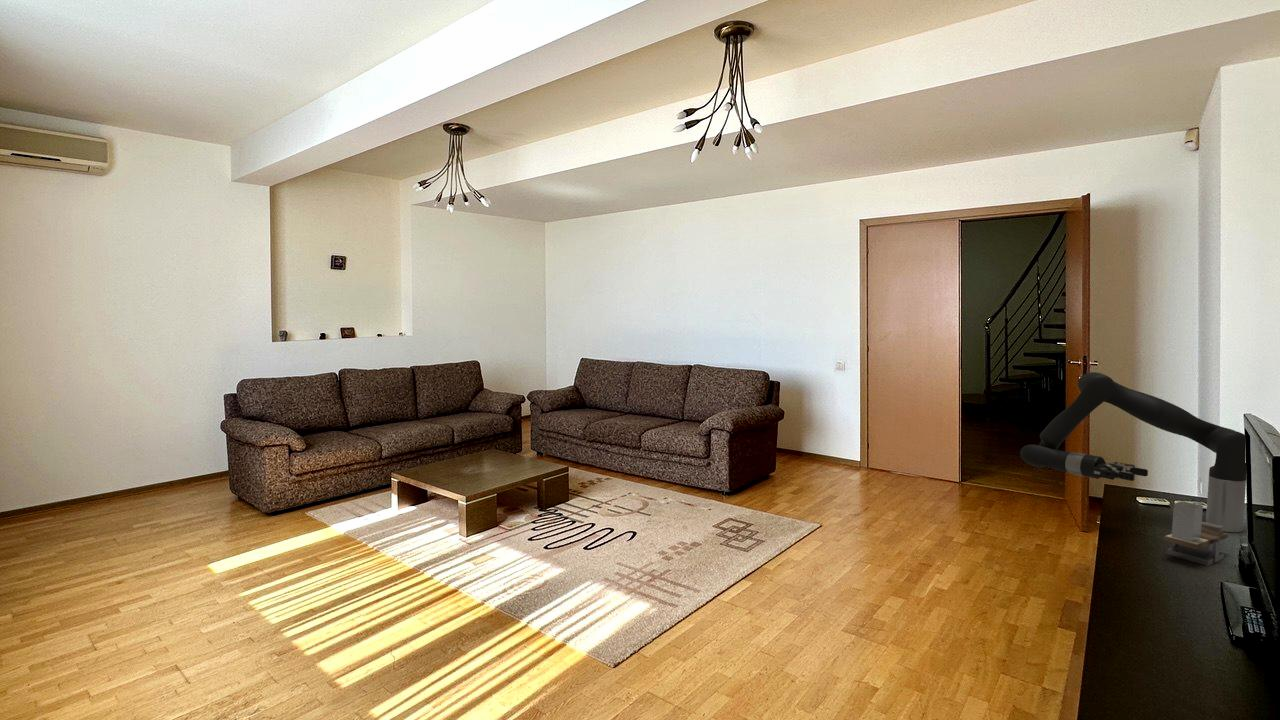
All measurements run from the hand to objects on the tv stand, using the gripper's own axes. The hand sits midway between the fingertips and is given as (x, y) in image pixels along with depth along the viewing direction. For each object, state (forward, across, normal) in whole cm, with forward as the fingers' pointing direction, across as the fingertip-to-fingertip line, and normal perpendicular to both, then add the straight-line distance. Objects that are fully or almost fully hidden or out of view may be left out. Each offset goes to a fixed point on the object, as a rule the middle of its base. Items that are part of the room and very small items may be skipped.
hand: (1140, 475), depth 204 cm
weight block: (+15, -7, +14) cm, 22 cm away
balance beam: (+15, -1, +15) cm, 21 cm away
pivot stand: (+15, -1, +21) cm, 26 cm away
